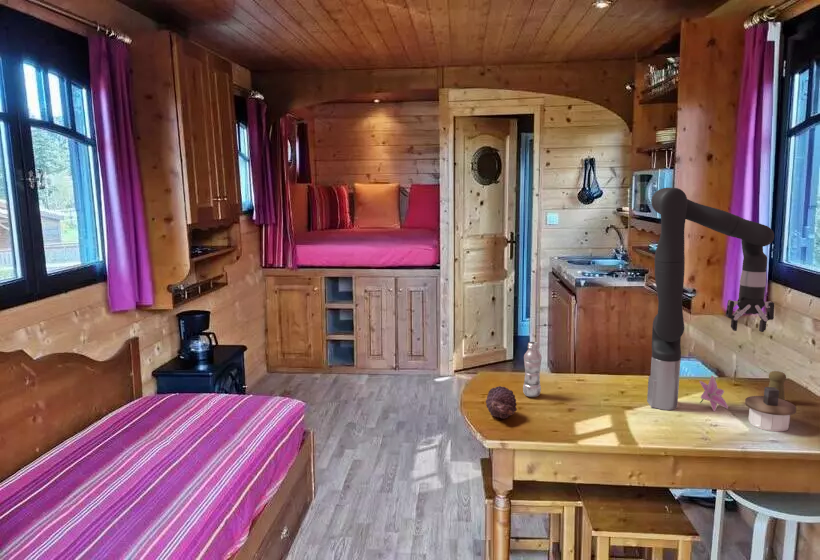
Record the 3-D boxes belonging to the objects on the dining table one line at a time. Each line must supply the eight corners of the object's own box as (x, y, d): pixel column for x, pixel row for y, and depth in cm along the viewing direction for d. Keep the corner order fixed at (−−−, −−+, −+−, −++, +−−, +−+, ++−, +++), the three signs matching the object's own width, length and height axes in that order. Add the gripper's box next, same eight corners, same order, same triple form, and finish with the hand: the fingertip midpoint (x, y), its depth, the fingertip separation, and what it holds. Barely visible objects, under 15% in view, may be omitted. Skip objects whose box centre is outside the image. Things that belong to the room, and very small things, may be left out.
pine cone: (480, 406, 208) (480, 379, 207) (507, 405, 209) (508, 377, 208) (492, 427, 191) (493, 397, 189) (522, 425, 192) (523, 396, 190)
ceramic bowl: (757, 430, 187) (759, 412, 186) (743, 416, 198) (744, 399, 197) (795, 432, 186) (797, 414, 185) (778, 418, 196) (780, 401, 195)
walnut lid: (756, 414, 185) (757, 395, 184) (738, 397, 198) (739, 380, 197) (804, 416, 183) (806, 397, 182) (783, 399, 197) (784, 382, 196)
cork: (787, 405, 207) (790, 375, 205) (768, 404, 208) (771, 374, 207) (780, 399, 213) (783, 369, 211) (762, 398, 214) (765, 368, 212)
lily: (693, 413, 204) (709, 394, 198) (681, 389, 213) (696, 370, 208) (724, 422, 205) (740, 403, 200) (711, 398, 215) (727, 379, 210)
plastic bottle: (543, 394, 219) (545, 342, 216) (536, 400, 213) (538, 346, 210) (526, 391, 223) (528, 339, 219) (519, 397, 217) (521, 344, 213)
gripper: (734, 285, 197) (729, 332, 200) (780, 286, 195) (775, 334, 198) (725, 281, 204) (721, 327, 207) (770, 282, 202) (765, 329, 205)
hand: (747, 330), depth 203 cm, fingers open, 8 cm apart
